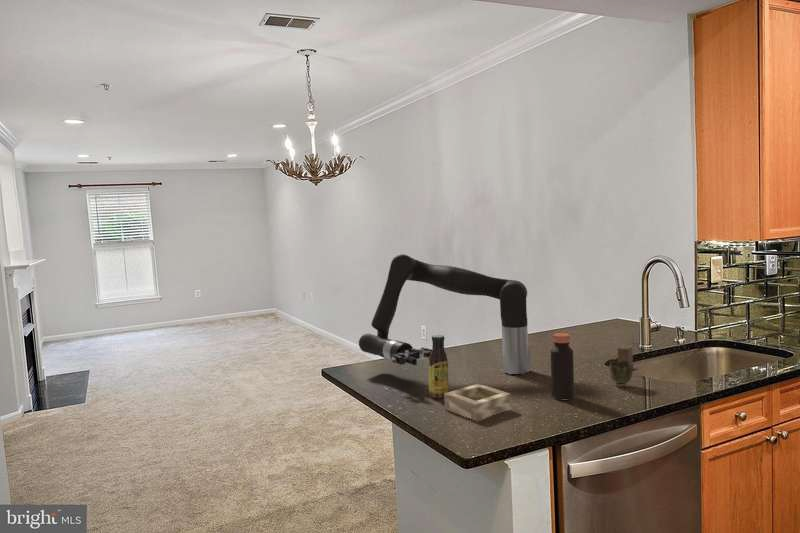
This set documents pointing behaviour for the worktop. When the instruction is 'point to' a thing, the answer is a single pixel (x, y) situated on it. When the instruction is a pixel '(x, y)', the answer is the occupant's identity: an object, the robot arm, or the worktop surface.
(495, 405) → the socket block
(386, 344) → the robot arm
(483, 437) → the worktop surface
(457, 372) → the worktop surface
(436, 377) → the sauce bottle
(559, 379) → the vinegar
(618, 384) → the cup
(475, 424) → the worktop surface
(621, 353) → the wooden block
